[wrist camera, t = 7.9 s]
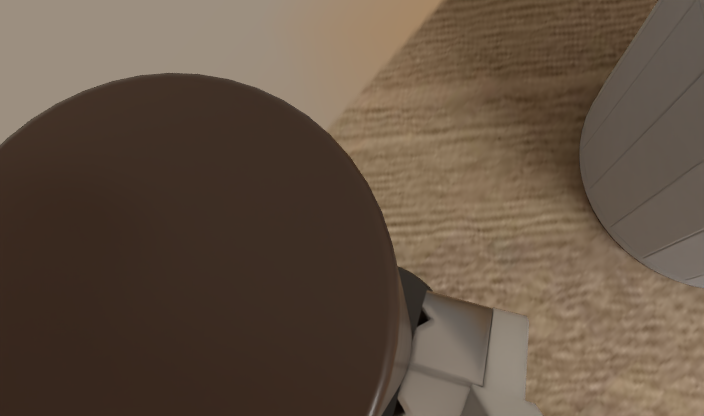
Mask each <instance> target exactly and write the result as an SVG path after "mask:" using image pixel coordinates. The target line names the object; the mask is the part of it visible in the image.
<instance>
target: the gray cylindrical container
mask: <svg viewBox="0 0 704 416" xmlns="http://www.w3.org/2000/svg"><path fill="white" fill-rule="evenodd" d="M580 169H581V176H582V181H583V184H584V188H585V191H586V194H587V197H588V199H589V201H590V204H591V206H592V208H593V210H594V212H595V214H596V215H597V217H598V219H599V220H600V222H601V224H602V225H603V226H604V227H605V229H606V230H607V231H608V233H609V234H610V235H611V236H612V238H613V239H614V240H615V241H616V242H617V243H618V244H619V245H620V246H621V247H622V248H623V249H624V250H625V251H627V252H628V253H629V254H630V255H632V256H633V257H634V258H635V259H637V260H638V261H639V262H641V263H642V264H644V265H646V266H647V267H649V268H651V269H652V270H654V271H656V272H657V273H660V274H662V275H664V276H666V277H668V278H671V279H673V280H675V281H679V282H682V283H685V284H688V285H691V286H695V287H700V288H704V0H658V2H657V3H656V5H655V6H654V8H653V9H652V11H651V12H650V14H649V15H648V17H647V19H646V20H645V22H644V23H643V25H642V26H641V28H640V29H639V31H638V32H637V34H636V35H635V37H634V38H633V40H632V41H631V43H630V45H629V46H628V48H627V49H626V51H625V52H624V54H623V55H622V57H621V58H620V60H619V61H618V63H617V64H616V66H615V67H614V69H613V70H612V72H611V74H610V75H609V77H608V78H607V80H606V81H605V83H604V85H603V87H602V88H601V90H600V92H599V94H598V95H597V97H596V99H595V100H594V102H593V103H592V105H591V108H590V110H589V112H588V114H587V116H586V119H585V122H584V126H583V129H582V134H581V140H580Z"/></svg>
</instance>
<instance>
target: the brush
mask: <svg viewBox="0 0 704 416" xmlns="http://www.w3.org/2000/svg"><path fill="white" fill-rule="evenodd" d="M427 290H428V291H432V290H431V289H430V287H429V286H428V285H427V284H425V283H424V282H423V281H422V280H421V279H420V278H418V277H417V276H415V275H414V274H412V273H411V272H409V271H407V270H405V269H403V268H401V267H398V266H397V262H396V258H395V254H394V249H393V245H392V241H391V238H390V235H389V232H388V229H387V226H386V223H385V220H384V217H383V214H382V211H381V209H380V207H379V205H378V203H377V201H376V199H375V197H374V195H373V193H372V191H371V189H370V187H369V185H368V183H367V181H366V180H365V178H364V177H363V176H362V174H361V173H360V171H359V170H358V168H357V167H356V165H355V164H354V162H353V161H352V159H351V158H350V157H349V155H348V154H347V153H346V152H345V151H344V150H343V149H342V148H341V146H340V145H339V144H338V143H337V142H336V141H335V140H334V139H333V137H332V136H331V135H330V134H329V133H327V132H326V131H325V130H324V129H323V128H321V127H320V126H319V125H318V124H317V123H316V122H314V121H313V120H312V119H311V118H310V117H309V116H307V115H306V114H304V113H303V112H301V111H299V110H298V109H296V108H295V107H293V106H292V105H290V104H288V103H287V102H285V101H284V100H282V99H280V98H277V97H275V96H273V95H271V94H269V93H266V92H265V91H262V90H260V89H258V88H255V87H252V86H249V85H245V84H242V83H239V82H236V81H233V80H229V79H223V78H218V77H212V76H205V75H200V74H180V73H164V74H153V75H140V76H135V77H131V78H126V79H121V80H116V81H112V82H109V83H106V84H103V85H100V86H97V87H94V88H91V89H88V90H85V91H83V92H81V93H78V94H76V95H74V96H72V97H70V98H68V99H66V100H63V101H62V102H59V103H57V104H55V105H54V106H52V107H51V108H49V109H47V110H46V111H44V112H43V113H41V114H40V115H38V116H36V117H34V118H33V119H31V120H30V121H29V122H27V123H26V124H25V125H24V126H22V127H21V128H20V129H18V130H17V131H16V132H15V133H13V134H12V135H11V136H10V137H8V138H7V139H6V140H5V141H4V142H3V143H2V144H1V145H0V416H393V413H394V410H395V406H396V402H397V397H398V393H399V389H400V386H401V382H402V380H403V378H404V376H405V373H406V370H407V367H408V364H409V360H410V355H411V348H412V341H413V337H414V333H415V330H416V327H417V324H418V320H419V316H420V313H421V309H422V305H423V302H424V298H425V295H426V292H427ZM432 292H433V291H432Z"/></svg>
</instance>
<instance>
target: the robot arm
mask: <svg viewBox="0 0 704 416" xmlns="http://www.w3.org/2000/svg"><path fill="white" fill-rule="evenodd" d="M528 331H529V320H528V318H527V316H524V315H520V314H517V313H513V312H509V311H505V310H501V309H497V308H490V307H486V306H482V305H479V304H475V303H472V302H468V301H464V300H461V299H457V298H453V297H450V296H446V295H443V294H439V293H435V292H432V291H428V290H427V292H426V295H425V298H424V302H423V305H422V309H421V313H420V316H419V320H418V324H417V327H416V330H415V333H414V337H413V341H412V348H411V355H410V360H409V364H408V367H407V370H406V373H405V376H404V378H403V380H402V382H401V386H400V389H399V393H398V397H397V402H396V406H395V410H394V413H393V416H543V414H542V413H541V411H540V410H539V408H538V407H537V405H536V404H534V403H531V402H528V401H525V391H526V371H527V351H528Z"/></svg>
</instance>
